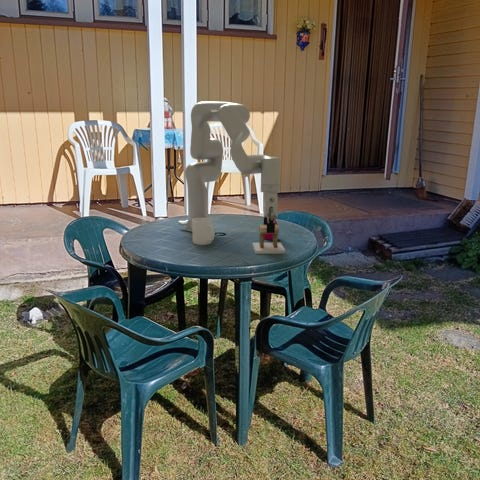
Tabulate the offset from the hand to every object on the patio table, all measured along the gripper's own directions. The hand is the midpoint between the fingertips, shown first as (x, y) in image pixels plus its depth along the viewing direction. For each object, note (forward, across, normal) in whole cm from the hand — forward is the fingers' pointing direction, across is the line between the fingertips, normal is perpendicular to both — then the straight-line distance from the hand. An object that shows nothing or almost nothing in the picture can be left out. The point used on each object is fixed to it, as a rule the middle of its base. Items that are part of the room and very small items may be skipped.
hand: (268, 229), depth 201 cm
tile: (+8, 0, 0) cm, 8 cm away
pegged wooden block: (+7, 0, 0) cm, 7 cm away
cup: (+8, +10, +26) cm, 29 cm away
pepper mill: (+8, +18, -3) cm, 20 cm away
